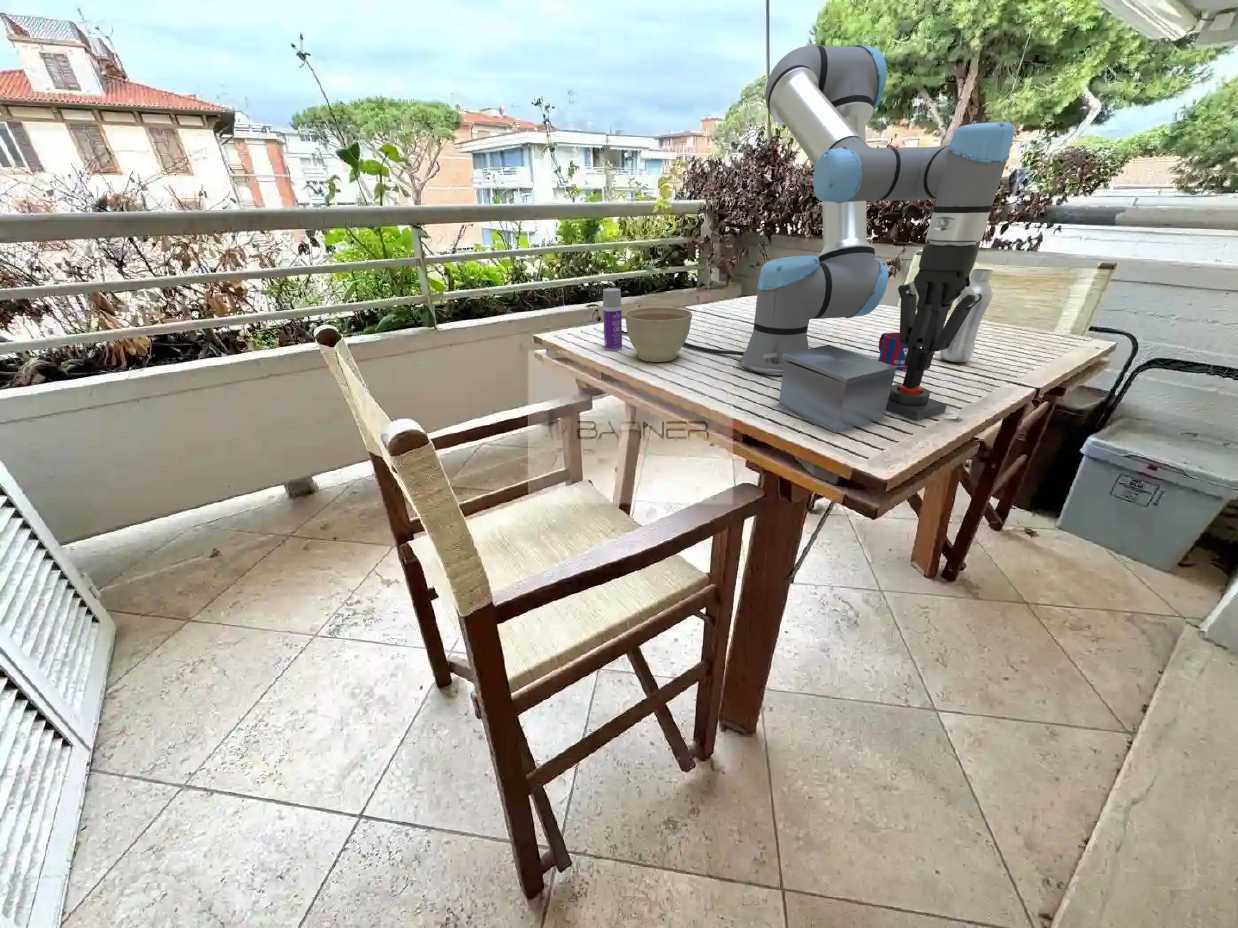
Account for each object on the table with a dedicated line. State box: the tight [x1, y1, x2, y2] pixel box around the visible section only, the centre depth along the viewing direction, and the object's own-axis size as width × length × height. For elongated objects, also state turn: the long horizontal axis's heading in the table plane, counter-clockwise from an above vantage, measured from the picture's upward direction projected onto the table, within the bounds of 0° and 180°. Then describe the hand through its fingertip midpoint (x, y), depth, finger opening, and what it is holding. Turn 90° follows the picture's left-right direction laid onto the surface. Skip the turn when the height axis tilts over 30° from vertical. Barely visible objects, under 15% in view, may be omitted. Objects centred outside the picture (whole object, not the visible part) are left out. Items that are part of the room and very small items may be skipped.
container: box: [602, 287, 623, 352], centre depth 125 cm, size 5×5×15 cm
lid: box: [782, 344, 897, 383], centre depth 84 cm, size 14×12×1 cm
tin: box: [777, 361, 896, 434], centre depth 86 cm, size 14×12×9 cm
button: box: [898, 383, 923, 394], centre depth 88 cm, size 4×4×2 cm
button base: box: [885, 383, 948, 422], centre depth 89 cm, size 10×8×4 cm
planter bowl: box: [624, 306, 693, 363], centre depth 118 cm, size 16×16×11 cm
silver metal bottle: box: [939, 268, 994, 363], centre depth 108 cm, size 6×7×20 cm
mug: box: [878, 332, 908, 371], centre depth 111 cm, size 7×10×7 cm
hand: (911, 385), depth 87 cm, fingers closed
